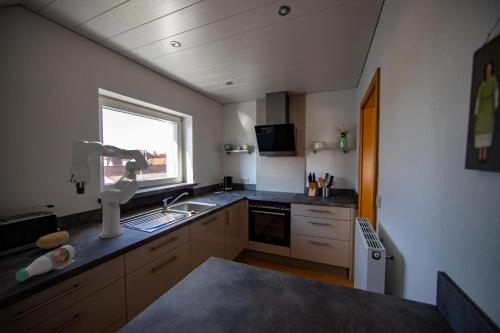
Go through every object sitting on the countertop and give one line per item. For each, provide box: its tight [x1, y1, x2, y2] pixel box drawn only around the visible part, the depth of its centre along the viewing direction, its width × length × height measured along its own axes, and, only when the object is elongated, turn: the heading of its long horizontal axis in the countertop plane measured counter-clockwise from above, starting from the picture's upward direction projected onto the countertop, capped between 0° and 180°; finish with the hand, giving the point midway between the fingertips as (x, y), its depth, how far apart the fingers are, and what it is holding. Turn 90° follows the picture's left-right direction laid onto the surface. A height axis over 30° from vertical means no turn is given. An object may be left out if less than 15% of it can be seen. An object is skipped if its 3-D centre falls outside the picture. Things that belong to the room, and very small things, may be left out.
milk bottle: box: [15, 244, 76, 282], centre depth 91 cm, size 8×8×20 cm
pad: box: [52, 259, 76, 270], centre depth 96 cm, size 8×15×1 cm, turn 91°
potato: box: [35, 230, 70, 250], centre depth 114 cm, size 10×14×8 cm
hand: (80, 193), depth 113 cm, fingers closed
